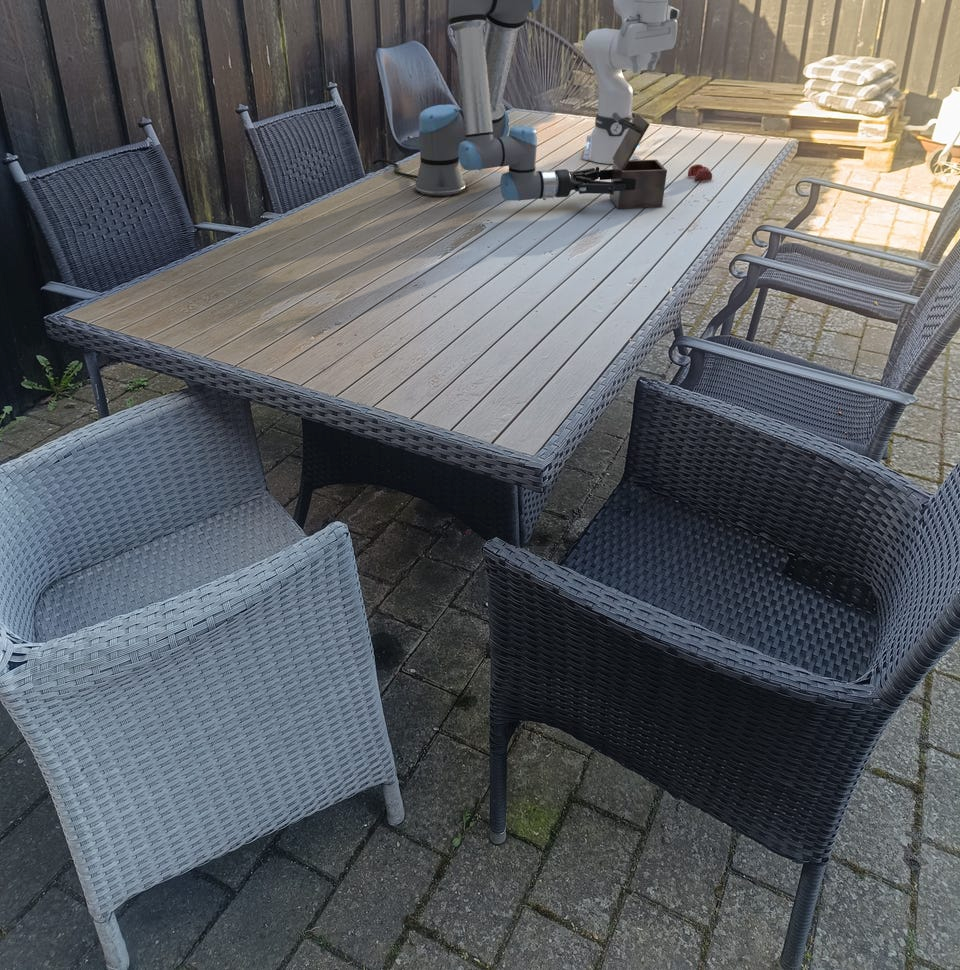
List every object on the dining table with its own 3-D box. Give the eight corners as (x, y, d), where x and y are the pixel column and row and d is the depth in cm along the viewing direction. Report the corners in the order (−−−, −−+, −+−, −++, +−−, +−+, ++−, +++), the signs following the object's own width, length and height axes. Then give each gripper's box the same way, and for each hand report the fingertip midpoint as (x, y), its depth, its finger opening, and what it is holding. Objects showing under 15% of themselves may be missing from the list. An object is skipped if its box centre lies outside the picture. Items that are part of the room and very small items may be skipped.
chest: (652, 195, 253) (656, 159, 246) (662, 206, 245) (667, 170, 238) (609, 196, 251) (613, 160, 245) (617, 208, 244) (621, 171, 237)
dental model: (703, 160, 269) (714, 167, 263) (701, 174, 271) (713, 181, 265) (687, 162, 268) (698, 169, 262) (685, 176, 270) (696, 183, 264)
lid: (639, 114, 238) (617, 102, 235) (650, 124, 230) (626, 111, 227) (614, 159, 245) (591, 148, 242) (623, 170, 237) (600, 158, 234)
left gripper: (542, 185, 251) (613, 181, 255) (566, 209, 233) (641, 204, 237) (544, 159, 247) (615, 155, 251) (567, 181, 229) (644, 176, 233)
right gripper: (632, 18, 212) (627, 78, 220) (683, 10, 223) (676, 68, 231) (613, 15, 216) (609, 74, 224) (665, 8, 227) (658, 65, 235)
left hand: (627, 179), depth 244 cm, fingers closed on chest, 10 cm apart
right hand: (643, 71), depth 228 cm, fingers open, 5 cm apart
